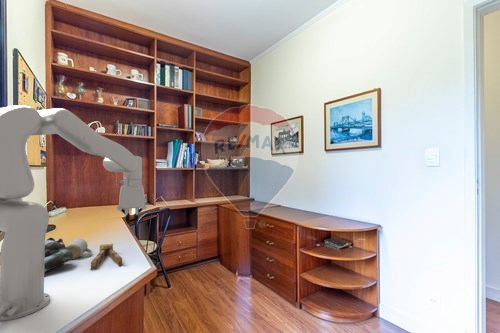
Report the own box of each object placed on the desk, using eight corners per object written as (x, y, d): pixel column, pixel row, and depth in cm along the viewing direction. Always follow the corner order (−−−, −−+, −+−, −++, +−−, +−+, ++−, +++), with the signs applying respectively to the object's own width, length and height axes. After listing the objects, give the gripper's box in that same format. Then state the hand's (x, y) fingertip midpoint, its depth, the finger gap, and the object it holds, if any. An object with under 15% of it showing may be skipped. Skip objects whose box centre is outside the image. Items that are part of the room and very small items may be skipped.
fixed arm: (95, 269, 96) (95, 261, 96) (90, 270, 96) (90, 262, 96) (106, 254, 113) (106, 247, 113) (102, 254, 113) (102, 248, 113)
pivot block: (110, 255, 113) (110, 248, 113) (102, 255, 112) (102, 249, 112) (111, 253, 115) (111, 246, 115) (104, 253, 114) (104, 247, 114)
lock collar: (111, 255, 112) (111, 245, 112) (99, 256, 111) (99, 246, 111) (112, 253, 114) (113, 243, 115) (100, 254, 113) (100, 244, 113)
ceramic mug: (61, 261, 105) (62, 244, 105) (69, 254, 113) (69, 238, 113) (88, 259, 108) (89, 242, 108) (94, 253, 116) (95, 237, 116)
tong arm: (122, 265, 101) (122, 258, 101) (118, 266, 100) (118, 259, 100) (112, 255, 112) (112, 248, 112) (109, 255, 111) (109, 249, 111)
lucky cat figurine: (26, 280, 86) (13, 246, 88) (30, 282, 95) (19, 250, 97) (74, 259, 96) (62, 228, 98) (74, 261, 105) (63, 233, 107)
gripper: (110, 183, 100) (109, 226, 100) (150, 183, 106) (150, 223, 105) (114, 182, 108) (113, 222, 107) (152, 182, 113) (151, 220, 112)
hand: (131, 222), depth 106 cm, fingers closed
